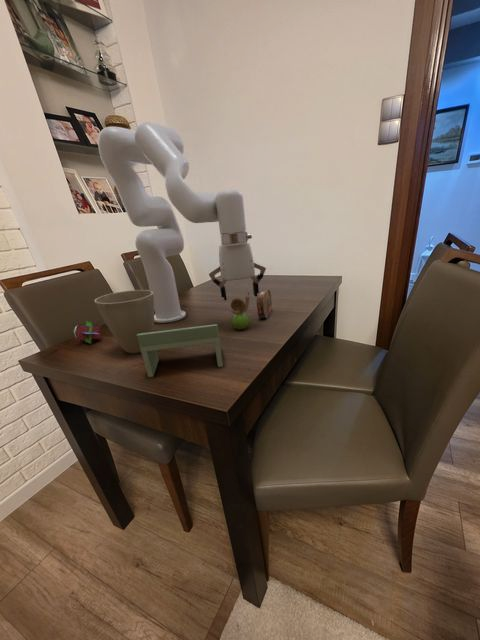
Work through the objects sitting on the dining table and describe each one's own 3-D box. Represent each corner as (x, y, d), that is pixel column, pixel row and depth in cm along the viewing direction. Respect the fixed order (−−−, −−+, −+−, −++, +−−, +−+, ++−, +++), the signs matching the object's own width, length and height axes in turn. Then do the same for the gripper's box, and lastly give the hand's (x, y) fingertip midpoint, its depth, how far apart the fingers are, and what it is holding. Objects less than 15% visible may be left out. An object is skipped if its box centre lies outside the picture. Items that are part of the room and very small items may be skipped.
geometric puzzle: (100, 328, 96) (79, 314, 90) (110, 331, 92) (89, 317, 86) (87, 345, 94) (65, 333, 88) (97, 349, 90) (74, 336, 84)
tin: (265, 321, 98) (263, 297, 95) (256, 321, 99) (254, 298, 95) (272, 308, 111) (271, 287, 108) (264, 308, 112) (263, 287, 108)
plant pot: (160, 355, 78) (146, 299, 71) (104, 362, 76) (85, 306, 70) (167, 335, 92) (157, 287, 85) (120, 341, 90) (105, 292, 83)
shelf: (154, 360, 76) (144, 322, 71) (220, 351, 78) (215, 314, 73) (148, 377, 68) (136, 335, 63) (222, 366, 70) (217, 325, 65)
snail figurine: (251, 331, 90) (248, 294, 85) (232, 332, 91) (227, 296, 86) (252, 325, 95) (249, 290, 90) (233, 326, 96) (229, 291, 90)
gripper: (260, 236, 86) (265, 291, 93) (203, 241, 83) (212, 298, 90) (265, 237, 79) (269, 297, 86) (203, 243, 77) (213, 304, 84)
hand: (240, 297), depth 88 cm, fingers open, 9 cm apart
